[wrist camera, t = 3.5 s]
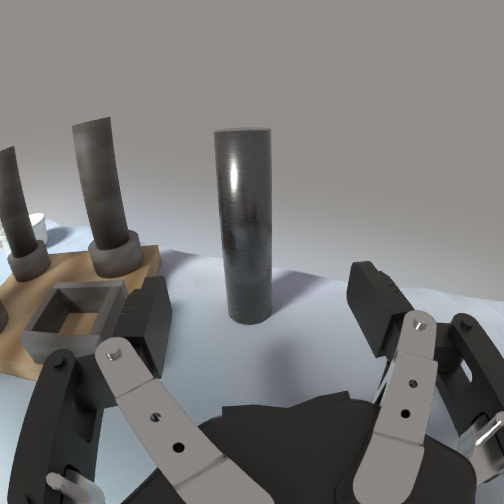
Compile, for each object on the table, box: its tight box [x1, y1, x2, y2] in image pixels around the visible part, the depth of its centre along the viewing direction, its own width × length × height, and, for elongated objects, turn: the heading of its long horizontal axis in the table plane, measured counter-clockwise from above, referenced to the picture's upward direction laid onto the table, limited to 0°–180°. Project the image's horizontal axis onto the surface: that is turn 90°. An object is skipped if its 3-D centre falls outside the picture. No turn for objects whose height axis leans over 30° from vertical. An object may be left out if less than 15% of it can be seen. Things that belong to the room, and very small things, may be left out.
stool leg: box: [214, 128, 272, 325], centre depth 20 cm, size 4×4×14 cm
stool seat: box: [0, 117, 161, 381], centre depth 19 cm, size 19×17×16 cm
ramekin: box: [0, 213, 48, 256], centre depth 34 cm, size 9×9×4 cm
